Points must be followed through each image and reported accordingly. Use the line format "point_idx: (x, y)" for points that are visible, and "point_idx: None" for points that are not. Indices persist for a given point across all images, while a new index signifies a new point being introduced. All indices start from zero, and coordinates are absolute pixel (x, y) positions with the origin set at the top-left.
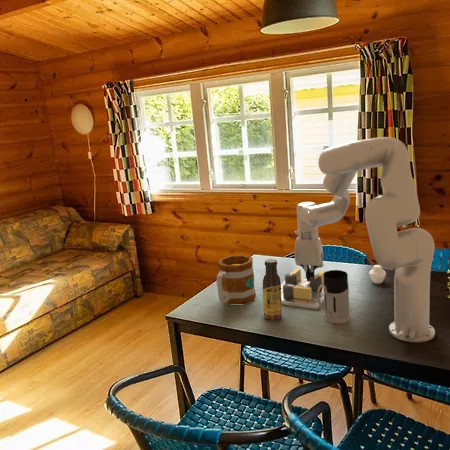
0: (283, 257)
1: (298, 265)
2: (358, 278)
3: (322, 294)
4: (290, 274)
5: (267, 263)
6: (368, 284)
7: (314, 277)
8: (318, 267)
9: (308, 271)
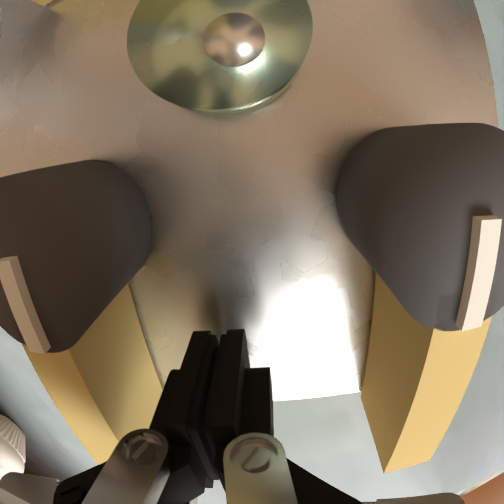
0: (468, 490)
1: (415, 497)
2: (79, 458)
3: (3, 130)
4: (490, 250)
5: None
6: (9, 406)
7: (38, 294)
8: (50, 482)
9: (217, 444)
